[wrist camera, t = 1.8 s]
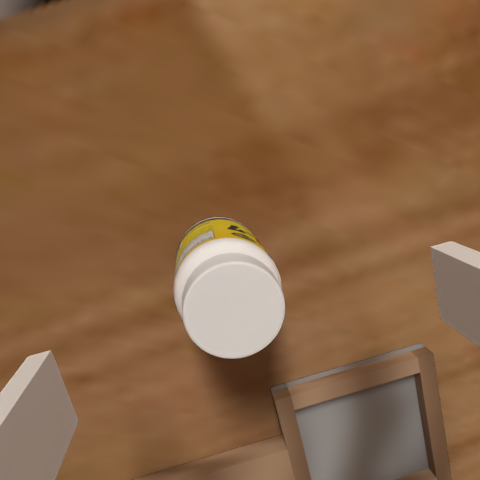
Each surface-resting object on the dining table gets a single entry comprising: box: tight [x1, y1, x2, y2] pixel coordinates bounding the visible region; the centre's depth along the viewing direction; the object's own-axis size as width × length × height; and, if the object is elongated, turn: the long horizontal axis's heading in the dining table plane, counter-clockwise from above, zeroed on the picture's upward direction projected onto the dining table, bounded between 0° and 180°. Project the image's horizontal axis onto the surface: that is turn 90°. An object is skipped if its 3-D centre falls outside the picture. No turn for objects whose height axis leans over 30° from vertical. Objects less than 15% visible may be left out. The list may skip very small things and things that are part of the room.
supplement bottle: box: [174, 217, 285, 359], centre depth 20 cm, size 5×5×8 cm
